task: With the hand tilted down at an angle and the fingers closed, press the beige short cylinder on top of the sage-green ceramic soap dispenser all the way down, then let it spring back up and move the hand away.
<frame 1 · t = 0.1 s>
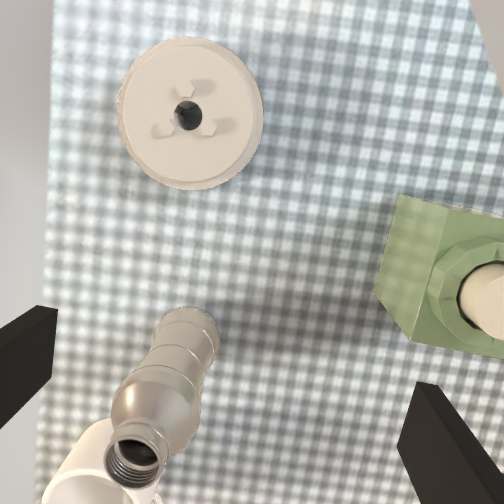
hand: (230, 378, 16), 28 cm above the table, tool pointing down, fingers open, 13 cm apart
dispenser: (423, 251, 42), on the table
lid: (196, 119, 41), on the table
beige short cylinder: (501, 301, 28), point 15 cm above the table, slide at 0.1 cm
mug: (134, 452, 49), on the table
plastic bottle: (192, 329, 46), on the table
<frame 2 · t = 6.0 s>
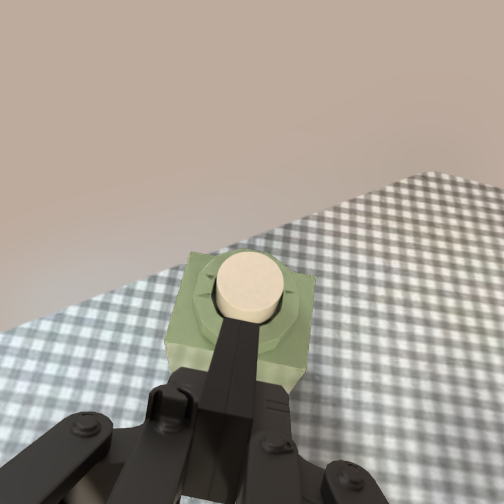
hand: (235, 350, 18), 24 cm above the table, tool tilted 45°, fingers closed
dispenser: (233, 357, 42), on the table
beige short cylinder: (248, 288, 29), point 15 cm above the table, slide at 0.1 cm
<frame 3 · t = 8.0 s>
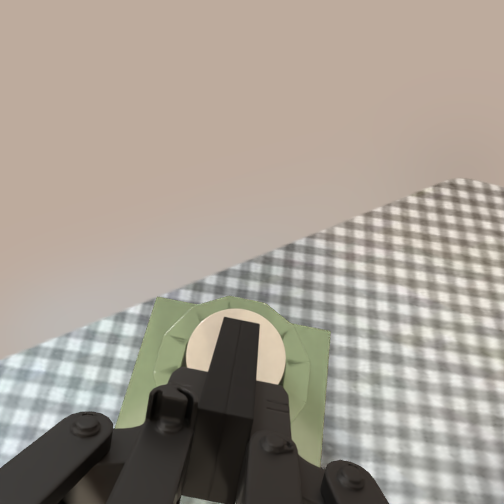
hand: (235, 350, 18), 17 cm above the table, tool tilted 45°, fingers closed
dispenser: (221, 422, 32), on the table
beige short cylinder: (234, 363, 20), point 15 cm above the table, slide at -0.2 cm, touching gripper
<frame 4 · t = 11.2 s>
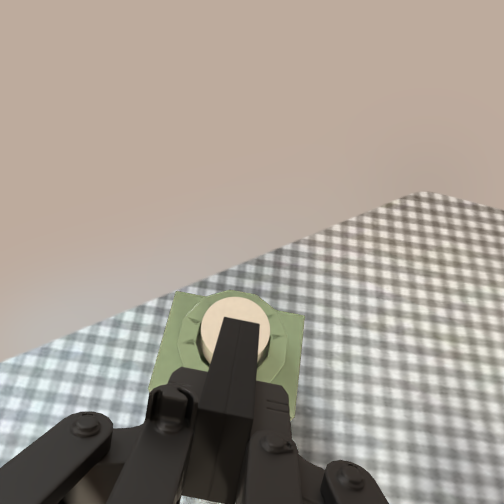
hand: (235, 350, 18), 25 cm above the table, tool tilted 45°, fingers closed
dispenser: (223, 391, 41), on the table
beige short cylinder: (234, 335, 28), point 15 cm above the table, slide at 0.1 cm
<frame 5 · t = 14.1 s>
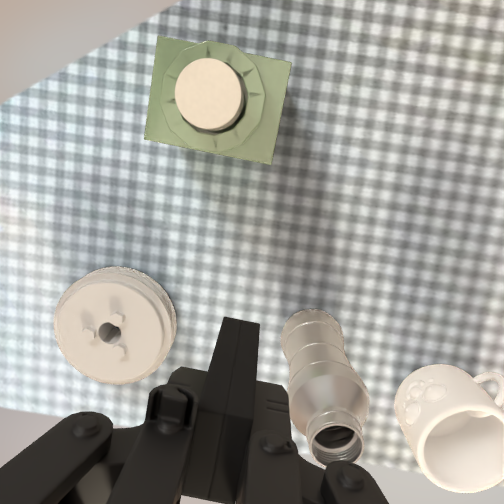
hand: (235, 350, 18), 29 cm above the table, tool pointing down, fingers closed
dispenser: (230, 115, 44), on the table
lid: (124, 317, 50), on the table
beige short cylinder: (210, 96, 30), point 15 cm above the table, slide at 0.1 cm
mug: (438, 388, 50), on the table
plastic bottle: (309, 329, 49), on the table
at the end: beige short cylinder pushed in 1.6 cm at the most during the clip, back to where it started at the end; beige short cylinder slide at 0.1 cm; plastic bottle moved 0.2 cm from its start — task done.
